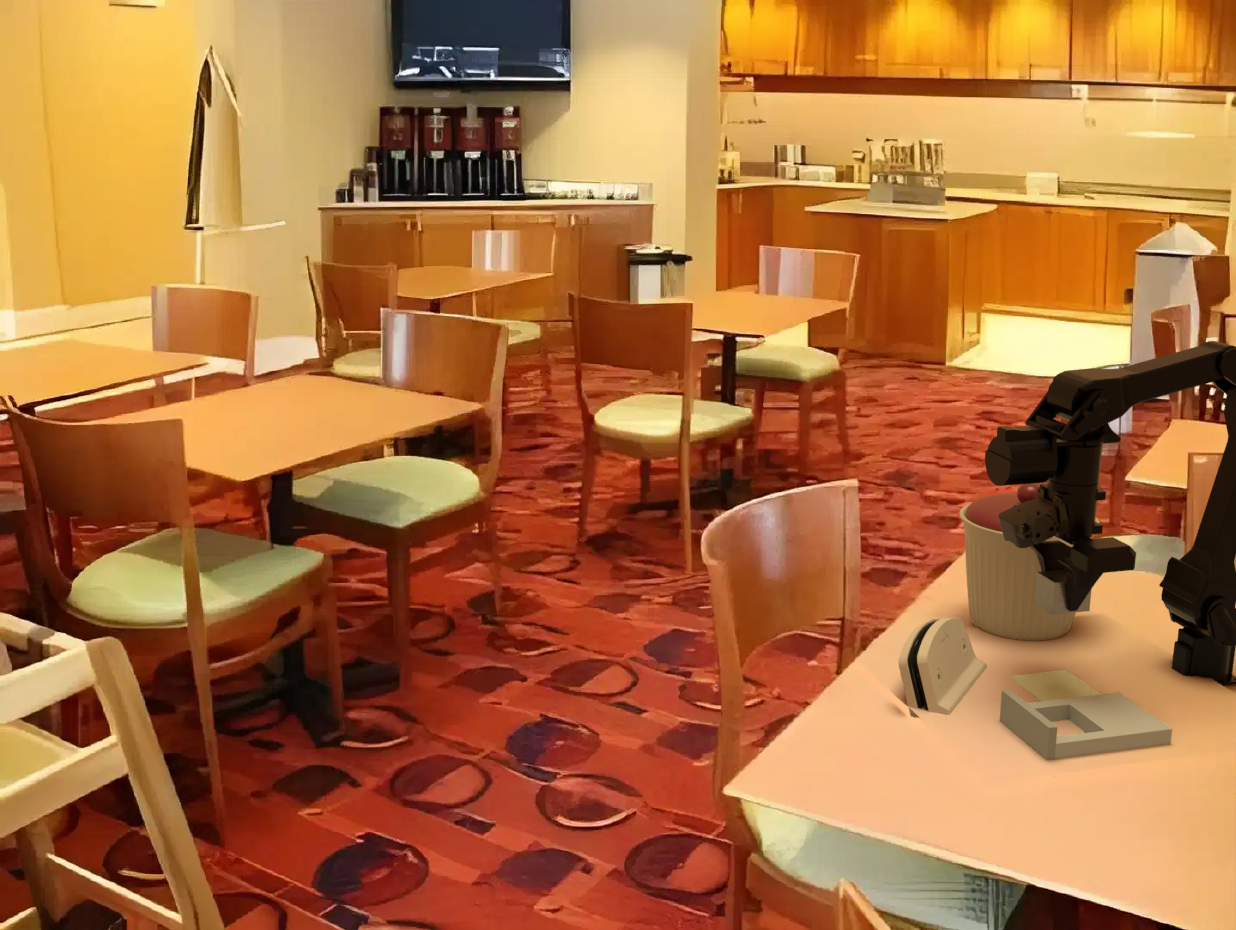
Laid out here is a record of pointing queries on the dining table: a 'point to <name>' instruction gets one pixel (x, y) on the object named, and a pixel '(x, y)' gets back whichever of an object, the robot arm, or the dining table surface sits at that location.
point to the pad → (1054, 685)
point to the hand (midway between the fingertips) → (1062, 604)
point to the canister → (1005, 574)
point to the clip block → (1055, 592)
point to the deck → (1083, 724)
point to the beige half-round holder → (938, 665)
